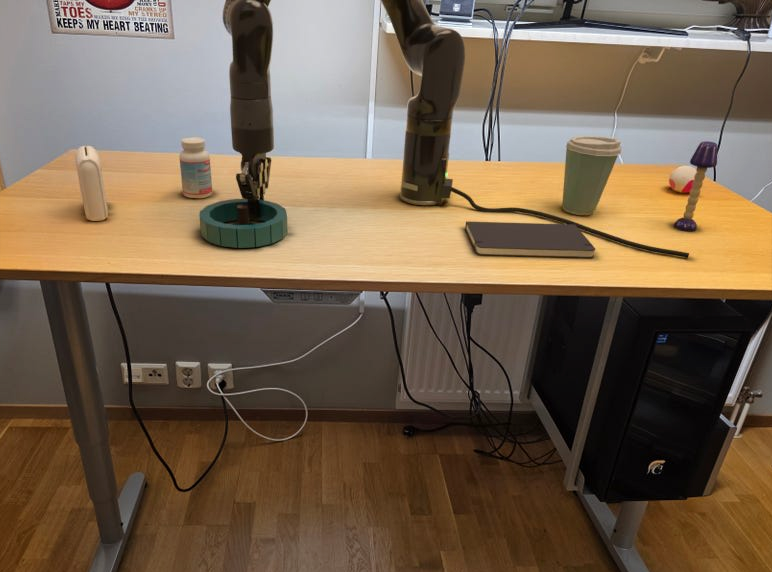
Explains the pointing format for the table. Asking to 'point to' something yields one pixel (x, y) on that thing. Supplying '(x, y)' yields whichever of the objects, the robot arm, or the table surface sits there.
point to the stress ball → (682, 179)
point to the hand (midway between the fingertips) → (256, 215)
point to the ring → (242, 234)
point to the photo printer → (91, 183)
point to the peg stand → (242, 215)
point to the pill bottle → (195, 168)
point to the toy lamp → (697, 182)
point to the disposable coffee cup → (587, 172)
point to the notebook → (528, 239)
